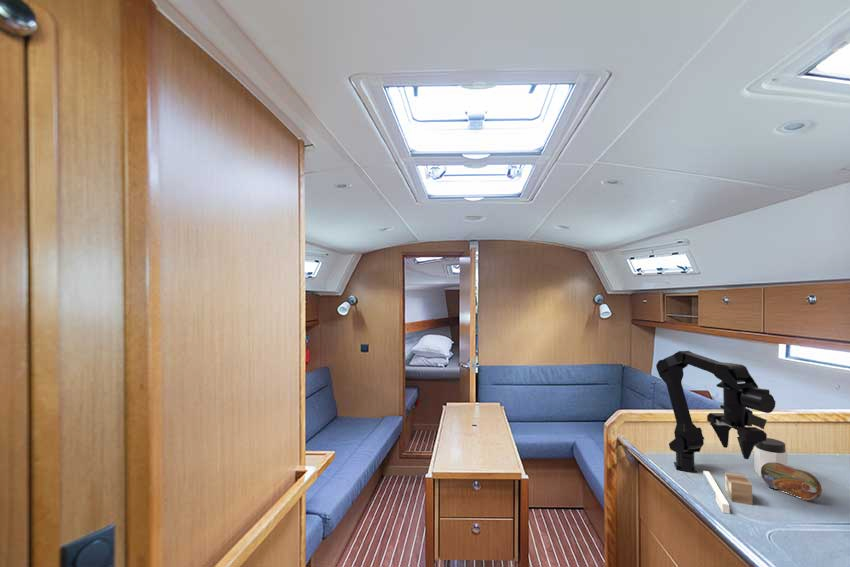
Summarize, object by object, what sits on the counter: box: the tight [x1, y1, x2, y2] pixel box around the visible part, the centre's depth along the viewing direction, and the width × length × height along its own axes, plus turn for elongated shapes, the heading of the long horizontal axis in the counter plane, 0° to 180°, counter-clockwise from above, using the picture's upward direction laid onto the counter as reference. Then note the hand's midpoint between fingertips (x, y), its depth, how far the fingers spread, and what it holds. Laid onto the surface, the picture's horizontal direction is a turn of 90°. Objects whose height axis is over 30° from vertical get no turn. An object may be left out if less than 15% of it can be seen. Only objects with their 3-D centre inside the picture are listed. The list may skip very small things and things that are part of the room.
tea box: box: [724, 472, 754, 506], centre depth 125 cm, size 7×5×6 cm
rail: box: [702, 470, 731, 514], centre depth 127 cm, size 24×2×2 cm, turn 156°
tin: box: [761, 463, 823, 502], centre depth 127 cm, size 15×3×8 cm, turn 21°
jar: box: [753, 437, 789, 478], centre depth 140 cm, size 9×8×12 cm
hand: (735, 453), depth 128 cm, fingers open, 9 cm apart
